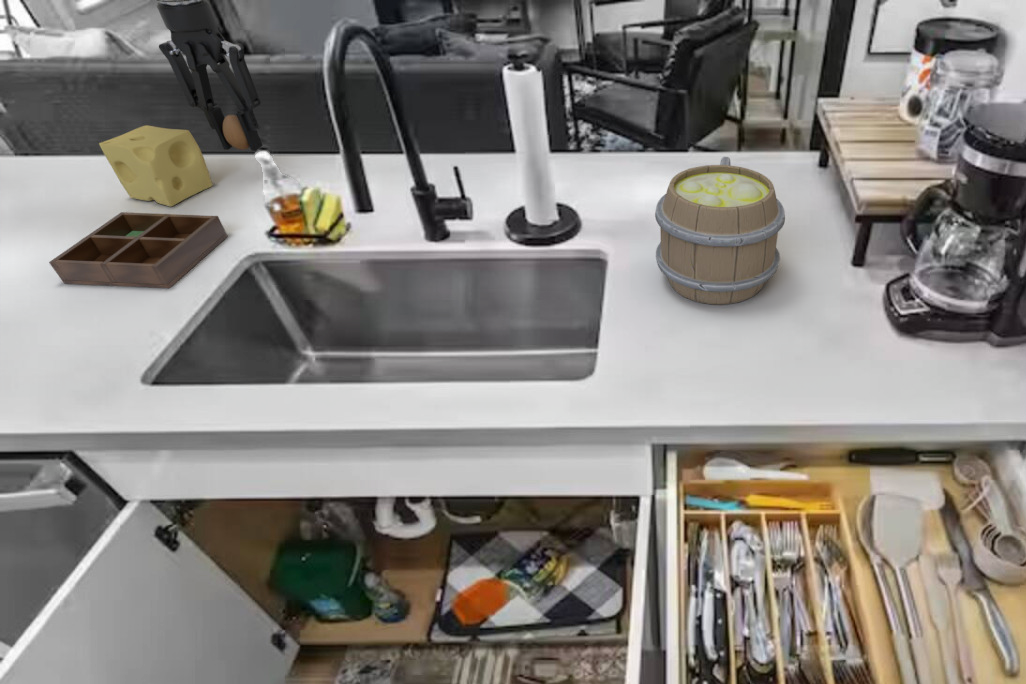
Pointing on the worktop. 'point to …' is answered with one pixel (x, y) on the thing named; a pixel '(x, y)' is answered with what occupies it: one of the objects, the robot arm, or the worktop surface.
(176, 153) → the cheese
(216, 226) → the grid
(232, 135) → the egg
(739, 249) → the mug
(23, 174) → the worktop surface
